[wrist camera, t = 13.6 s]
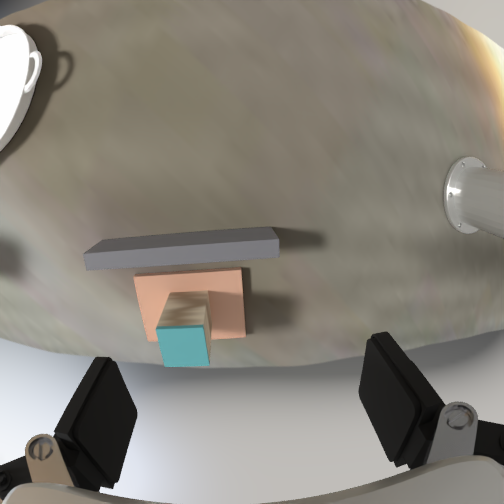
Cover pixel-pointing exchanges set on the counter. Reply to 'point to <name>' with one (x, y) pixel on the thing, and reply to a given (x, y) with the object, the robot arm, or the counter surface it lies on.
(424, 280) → the counter surface
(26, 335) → the counter surface
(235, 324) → the terracotta tile
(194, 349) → the block
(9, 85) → the pan
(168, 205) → the counter surface
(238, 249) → the board
